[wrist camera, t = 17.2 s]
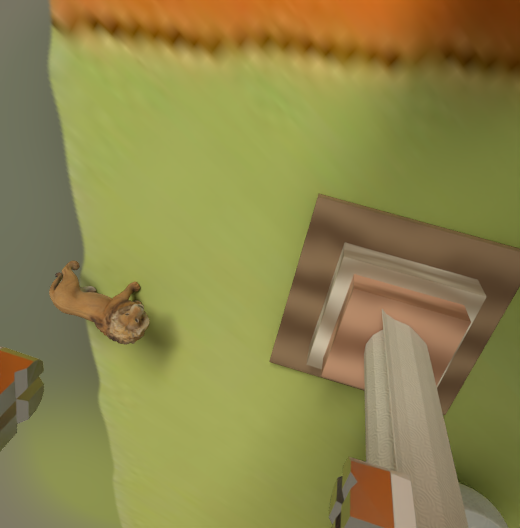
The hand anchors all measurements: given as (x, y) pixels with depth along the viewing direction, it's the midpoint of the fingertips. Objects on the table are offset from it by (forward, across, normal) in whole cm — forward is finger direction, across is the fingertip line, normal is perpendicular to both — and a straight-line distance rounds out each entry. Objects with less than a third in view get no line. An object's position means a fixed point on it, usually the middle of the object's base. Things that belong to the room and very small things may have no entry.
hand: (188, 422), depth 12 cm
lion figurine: (+37, +19, +23) cm, 48 cm away
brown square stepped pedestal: (+37, -13, +16) cm, 42 cm away
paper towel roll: (+30, -13, +15) cm, 36 cm away
